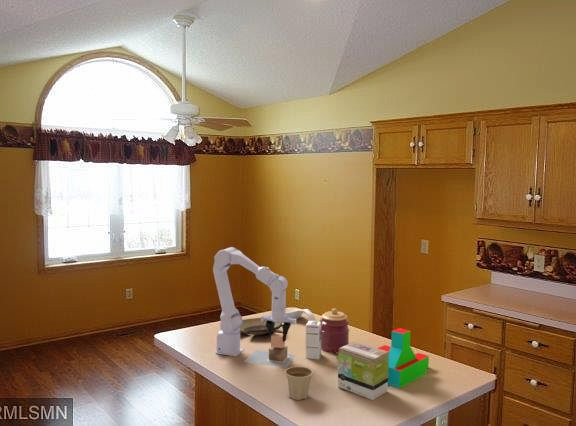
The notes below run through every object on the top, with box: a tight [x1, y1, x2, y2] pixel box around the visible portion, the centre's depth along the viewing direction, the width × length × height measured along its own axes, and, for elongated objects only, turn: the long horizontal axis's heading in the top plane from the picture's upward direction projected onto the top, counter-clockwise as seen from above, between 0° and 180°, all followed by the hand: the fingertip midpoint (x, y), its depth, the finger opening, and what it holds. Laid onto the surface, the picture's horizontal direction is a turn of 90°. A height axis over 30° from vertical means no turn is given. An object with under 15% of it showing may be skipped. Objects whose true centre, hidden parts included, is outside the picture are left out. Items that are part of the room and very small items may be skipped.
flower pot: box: [284, 366, 314, 401], centre depth 169 cm, size 9×9×9 cm
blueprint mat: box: [243, 349, 297, 368], centre depth 203 cm, size 18×14×1 cm
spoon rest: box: [286, 308, 317, 321], centre depth 256 cm, size 24×12×7 cm, turn 38°
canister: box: [319, 307, 350, 354], centre depth 216 cm, size 13×13×18 cm
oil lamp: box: [240, 317, 283, 336], centre depth 237 cm, size 22×30×8 cm
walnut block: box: [268, 345, 288, 362], centre depth 202 cm, size 6×6×4 cm
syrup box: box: [305, 320, 322, 360], centre depth 205 cm, size 6×6×14 cm
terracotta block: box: [270, 332, 286, 348], centre depth 202 cm, size 4×4×4 cm
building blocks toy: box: [377, 327, 430, 389], centre depth 191 cm, size 19×25×18 cm
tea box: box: [337, 341, 389, 401], centre depth 174 cm, size 15×10×15 cm, turn 48°
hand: (278, 339), depth 202 cm, fingers closed on terracotta block, 4 cm apart
